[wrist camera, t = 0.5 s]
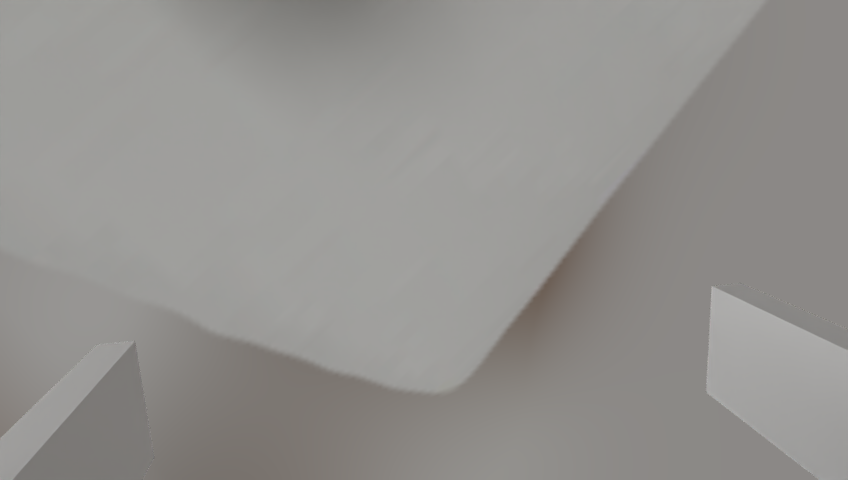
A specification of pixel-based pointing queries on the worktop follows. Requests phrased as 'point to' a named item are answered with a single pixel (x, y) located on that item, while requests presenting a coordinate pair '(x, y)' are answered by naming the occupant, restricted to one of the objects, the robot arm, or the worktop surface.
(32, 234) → the worktop surface
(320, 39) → the worktop surface
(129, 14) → the worktop surface
